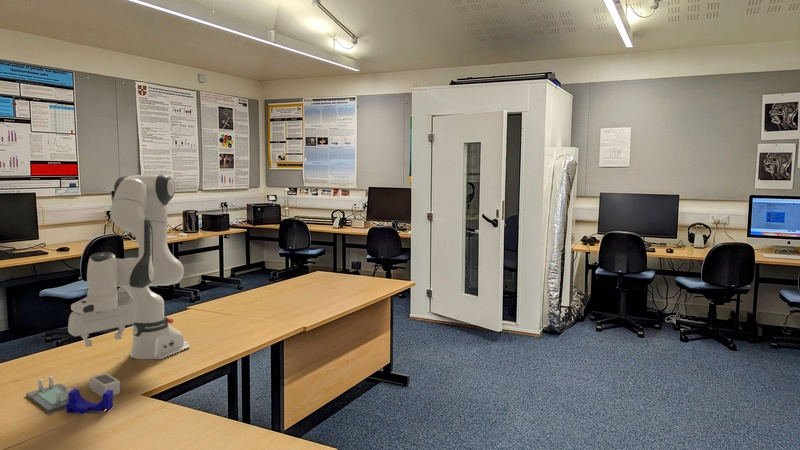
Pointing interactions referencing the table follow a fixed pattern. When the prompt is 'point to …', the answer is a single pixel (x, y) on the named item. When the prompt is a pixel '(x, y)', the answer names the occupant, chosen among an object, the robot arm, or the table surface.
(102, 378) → the block
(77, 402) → the cable clip
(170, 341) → the robot arm
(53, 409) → the pin tray
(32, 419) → the table surface
